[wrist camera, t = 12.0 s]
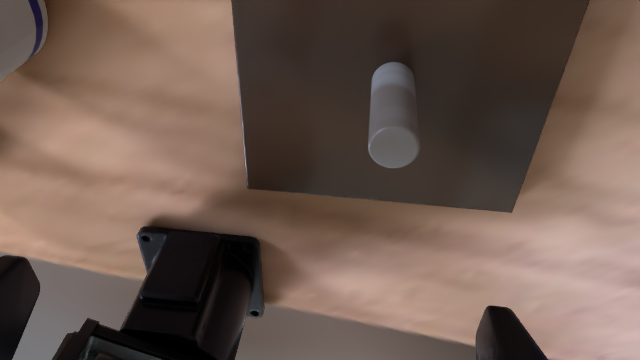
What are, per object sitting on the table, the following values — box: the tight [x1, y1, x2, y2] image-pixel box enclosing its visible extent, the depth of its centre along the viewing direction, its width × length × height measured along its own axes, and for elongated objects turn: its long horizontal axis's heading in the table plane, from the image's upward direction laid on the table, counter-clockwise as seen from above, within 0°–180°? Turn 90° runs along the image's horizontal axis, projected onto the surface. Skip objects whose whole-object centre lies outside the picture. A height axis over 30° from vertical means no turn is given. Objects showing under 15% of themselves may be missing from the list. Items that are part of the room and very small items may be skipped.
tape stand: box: [231, 0, 590, 213], centre depth 17 cm, size 12×12×5 cm
